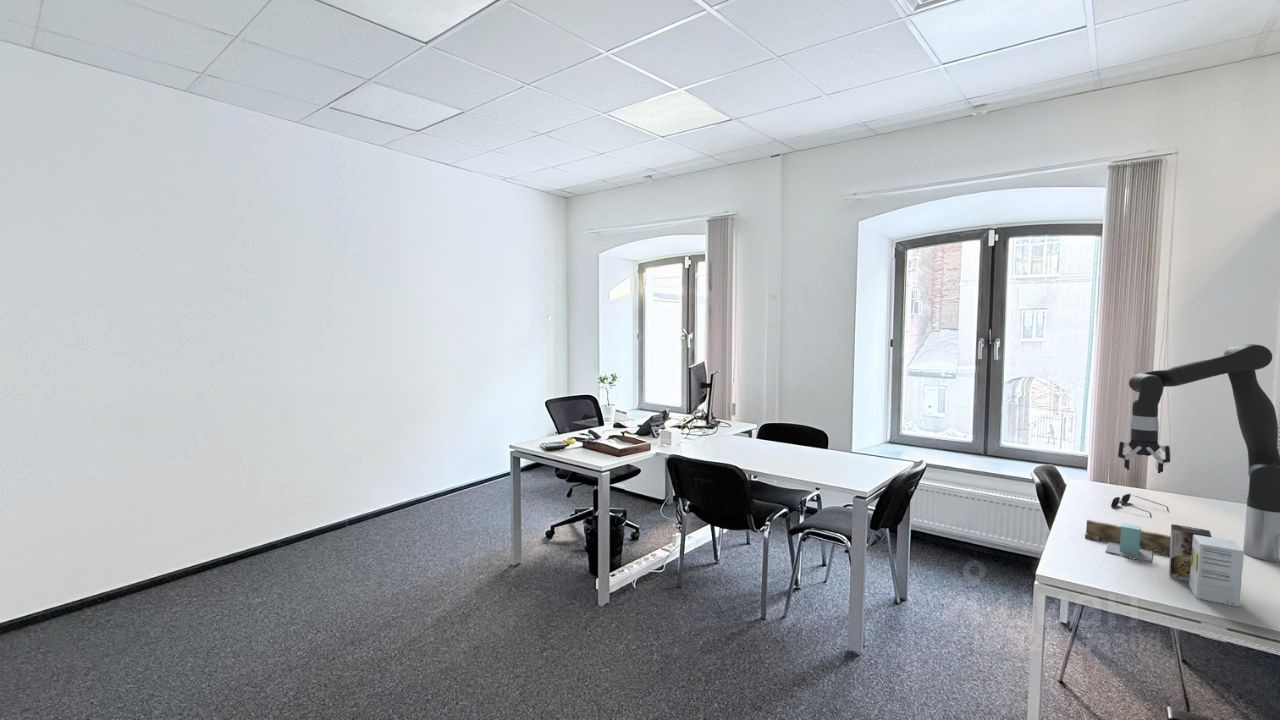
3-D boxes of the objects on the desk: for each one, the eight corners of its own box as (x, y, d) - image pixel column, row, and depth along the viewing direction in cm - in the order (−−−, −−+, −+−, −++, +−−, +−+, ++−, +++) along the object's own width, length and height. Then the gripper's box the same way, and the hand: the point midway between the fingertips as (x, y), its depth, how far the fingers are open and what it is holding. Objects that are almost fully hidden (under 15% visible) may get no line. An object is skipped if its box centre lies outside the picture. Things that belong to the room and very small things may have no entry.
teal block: (1139, 551, 197) (1140, 526, 197) (1138, 555, 194) (1140, 530, 193) (1120, 547, 201) (1122, 522, 200) (1119, 550, 197) (1121, 526, 197)
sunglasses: (1127, 503, 254) (1129, 492, 253) (1168, 516, 242) (1171, 506, 241) (1109, 508, 246) (1111, 498, 245) (1150, 523, 234) (1153, 512, 233)
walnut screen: (1180, 551, 198) (1181, 535, 198) (1180, 558, 192) (1181, 541, 192) (1087, 532, 216) (1088, 517, 216) (1084, 538, 211) (1085, 522, 210)
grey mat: (1152, 552, 197) (1152, 551, 197) (1151, 562, 189) (1151, 561, 189) (1108, 543, 206) (1108, 541, 206) (1105, 552, 197) (1105, 550, 197)
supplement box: (1188, 586, 172) (1191, 533, 171) (1230, 594, 166) (1234, 540, 165) (1195, 598, 164) (1199, 543, 163) (1240, 608, 159) (1245, 550, 158)
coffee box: (1207, 579, 177) (1210, 530, 176) (1209, 586, 172) (1212, 535, 171) (1167, 570, 183) (1171, 523, 182) (1168, 577, 178) (1172, 528, 177)
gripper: (1170, 428, 202) (1169, 472, 203) (1119, 424, 211) (1118, 466, 212) (1171, 431, 196) (1170, 476, 197) (1118, 427, 206) (1117, 470, 207)
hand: (1143, 471), depth 205 cm, fingers open, 8 cm apart
